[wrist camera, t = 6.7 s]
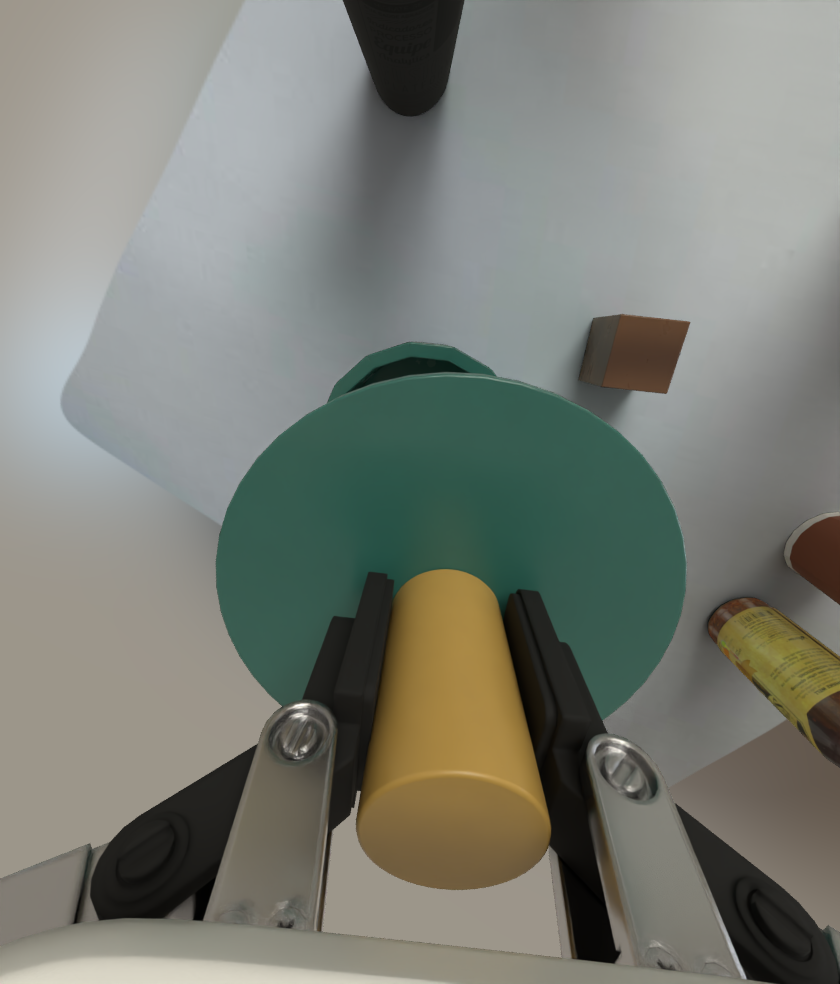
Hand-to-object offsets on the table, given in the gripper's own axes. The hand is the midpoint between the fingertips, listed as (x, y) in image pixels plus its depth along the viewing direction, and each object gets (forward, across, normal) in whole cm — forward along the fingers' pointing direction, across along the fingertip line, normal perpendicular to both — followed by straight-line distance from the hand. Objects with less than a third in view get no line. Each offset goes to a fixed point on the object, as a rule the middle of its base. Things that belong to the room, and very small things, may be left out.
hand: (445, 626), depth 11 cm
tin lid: (+1, 0, 0) cm, 1 cm away
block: (+23, -12, -8) cm, 27 cm away
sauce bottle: (+23, -32, +15) cm, 42 cm away
